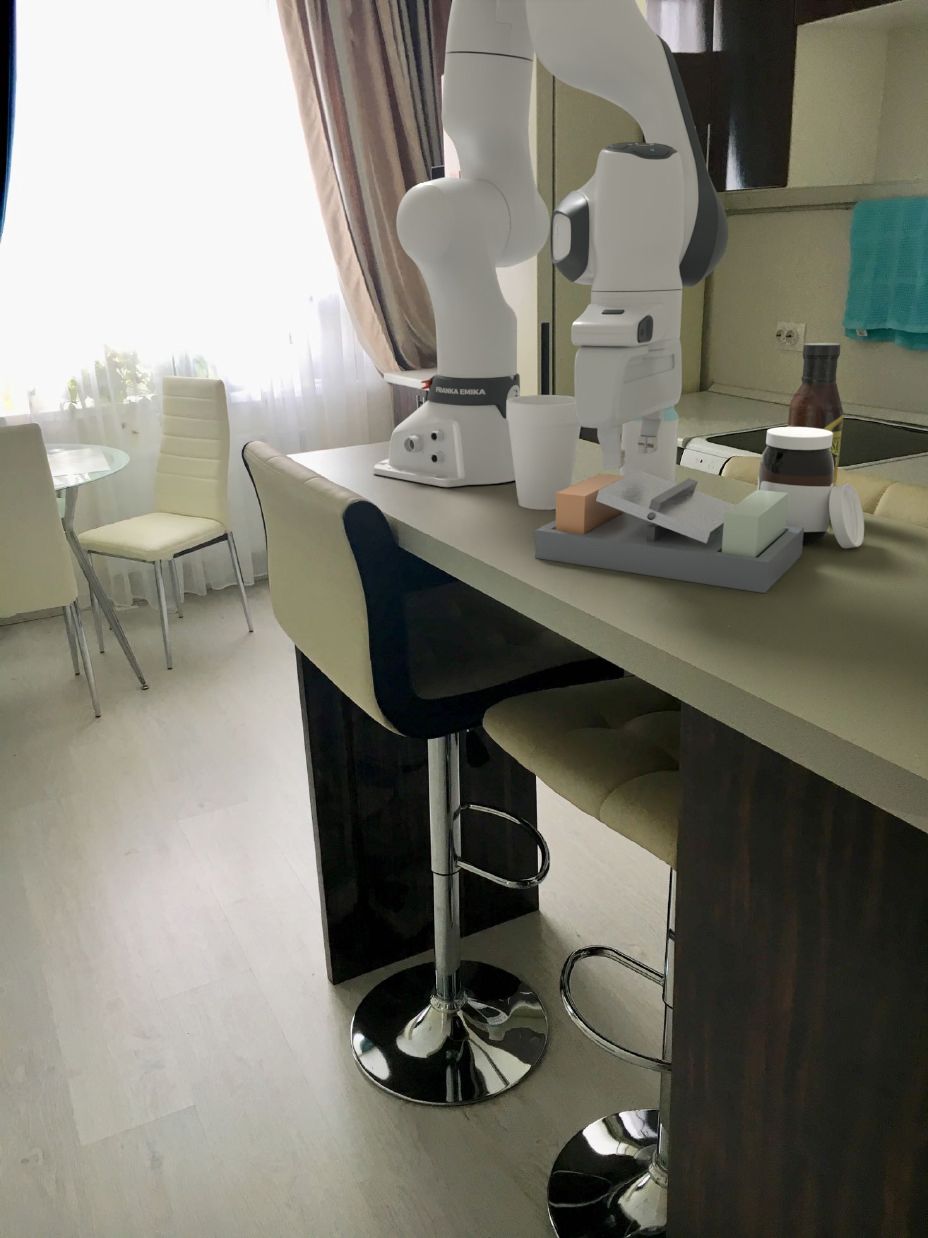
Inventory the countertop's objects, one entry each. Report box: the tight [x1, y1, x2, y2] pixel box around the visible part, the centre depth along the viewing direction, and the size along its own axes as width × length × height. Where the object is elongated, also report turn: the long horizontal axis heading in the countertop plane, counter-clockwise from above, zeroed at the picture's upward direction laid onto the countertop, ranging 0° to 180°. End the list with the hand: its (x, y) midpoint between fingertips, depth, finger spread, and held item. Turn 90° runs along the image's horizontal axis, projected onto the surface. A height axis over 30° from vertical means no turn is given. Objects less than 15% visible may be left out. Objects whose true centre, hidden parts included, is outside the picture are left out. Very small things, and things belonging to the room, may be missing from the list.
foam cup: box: [506, 394, 582, 511], centre depth 126 cm, size 10×9×13 cm
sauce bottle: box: [786, 342, 845, 487], centre depth 119 cm, size 6×6×20 cm
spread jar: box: [756, 426, 865, 549], centre depth 109 cm, size 12×11×12 cm
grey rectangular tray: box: [534, 512, 804, 594], centre depth 105 cm, size 24×14×4 cm, turn 59°
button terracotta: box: [555, 473, 626, 534], centre depth 108 cm, size 3×11×4 cm, turn 149°
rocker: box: [596, 470, 736, 544], centre depth 103 cm, size 12×12×2 cm
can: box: [619, 405, 680, 483], centre depth 129 cm, size 7×7×12 cm
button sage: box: [721, 489, 788, 557], centre depth 99 cm, size 3×11×4 cm, turn 149°
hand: (631, 460), depth 104 cm, fingers open, 8 cm apart
